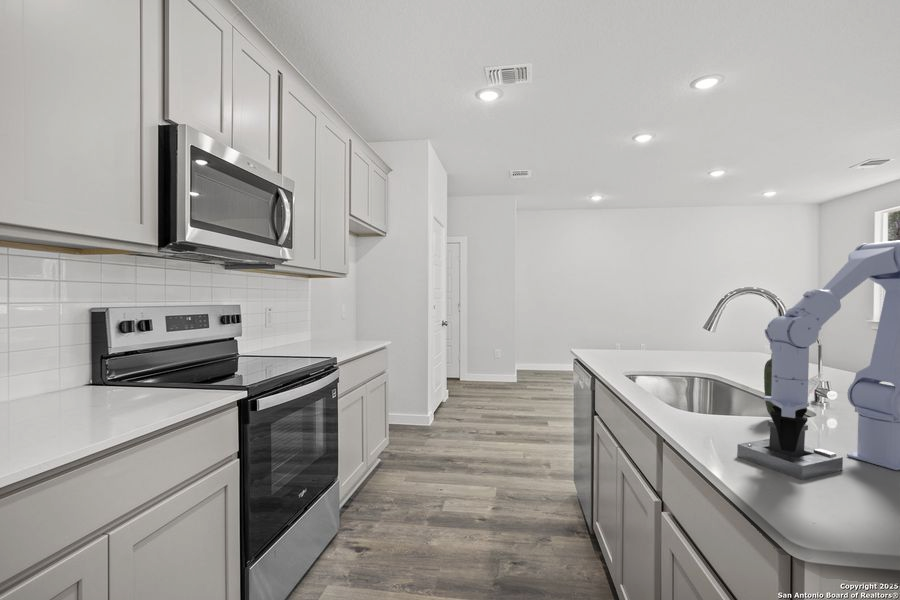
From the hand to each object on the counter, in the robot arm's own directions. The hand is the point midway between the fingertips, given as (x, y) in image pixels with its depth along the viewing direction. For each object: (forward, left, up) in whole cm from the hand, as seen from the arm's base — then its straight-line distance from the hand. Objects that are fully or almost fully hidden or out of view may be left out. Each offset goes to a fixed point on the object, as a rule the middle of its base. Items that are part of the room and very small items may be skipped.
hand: (788, 445), depth 87 cm
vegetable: (-29, -21, -4) cm, 36 cm away
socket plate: (0, 0, -3) cm, 3 cm away
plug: (0, -1, -2) cm, 2 cm away
